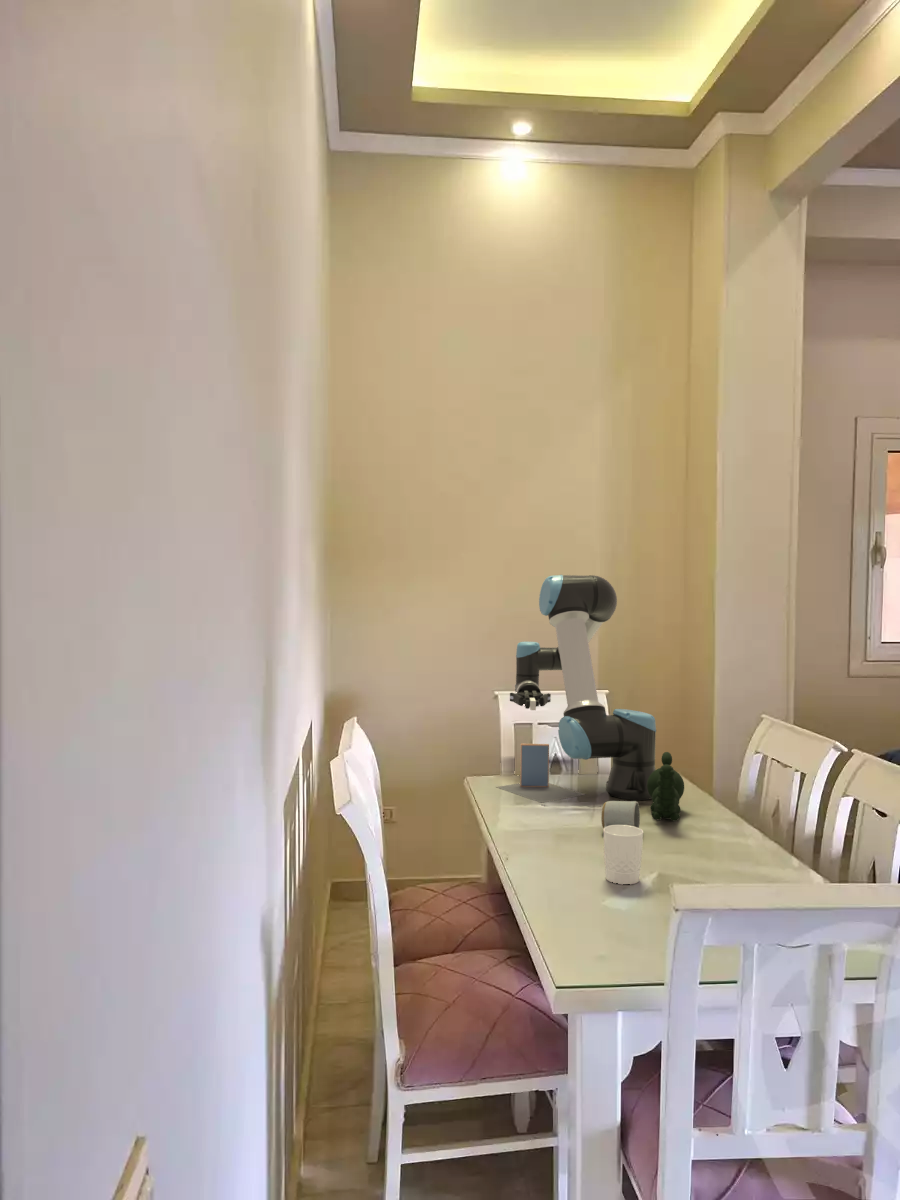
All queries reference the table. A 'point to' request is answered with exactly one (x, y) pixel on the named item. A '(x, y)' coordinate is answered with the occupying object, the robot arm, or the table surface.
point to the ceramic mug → (620, 813)
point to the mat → (542, 792)
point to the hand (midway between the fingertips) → (533, 705)
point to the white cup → (622, 853)
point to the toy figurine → (665, 790)
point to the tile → (534, 765)
